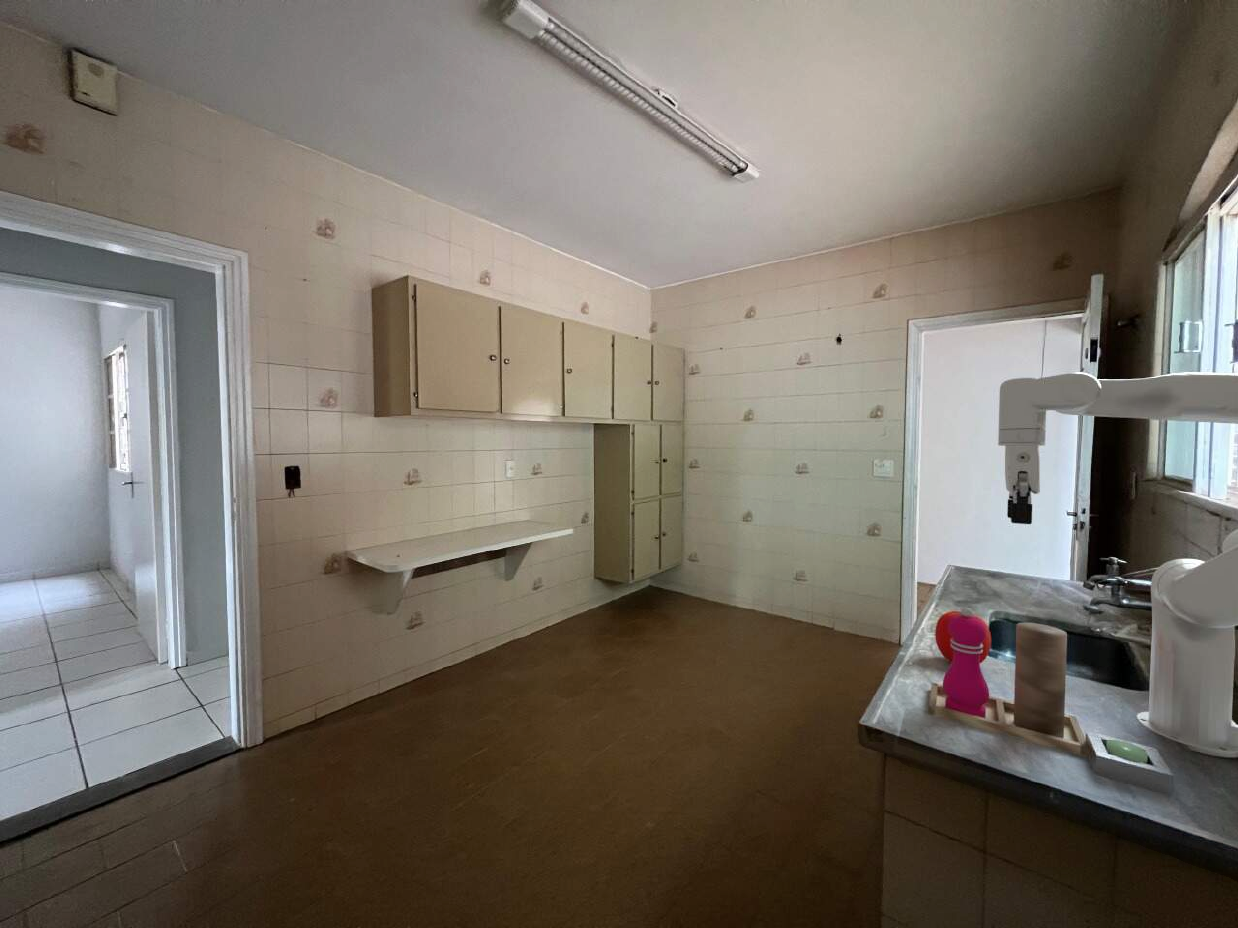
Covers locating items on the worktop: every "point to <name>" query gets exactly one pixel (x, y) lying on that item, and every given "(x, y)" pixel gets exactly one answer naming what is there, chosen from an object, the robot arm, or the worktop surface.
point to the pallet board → (1010, 723)
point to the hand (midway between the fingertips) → (1018, 520)
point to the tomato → (945, 637)
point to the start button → (1126, 751)
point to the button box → (1130, 766)
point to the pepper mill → (966, 666)
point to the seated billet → (1040, 678)
